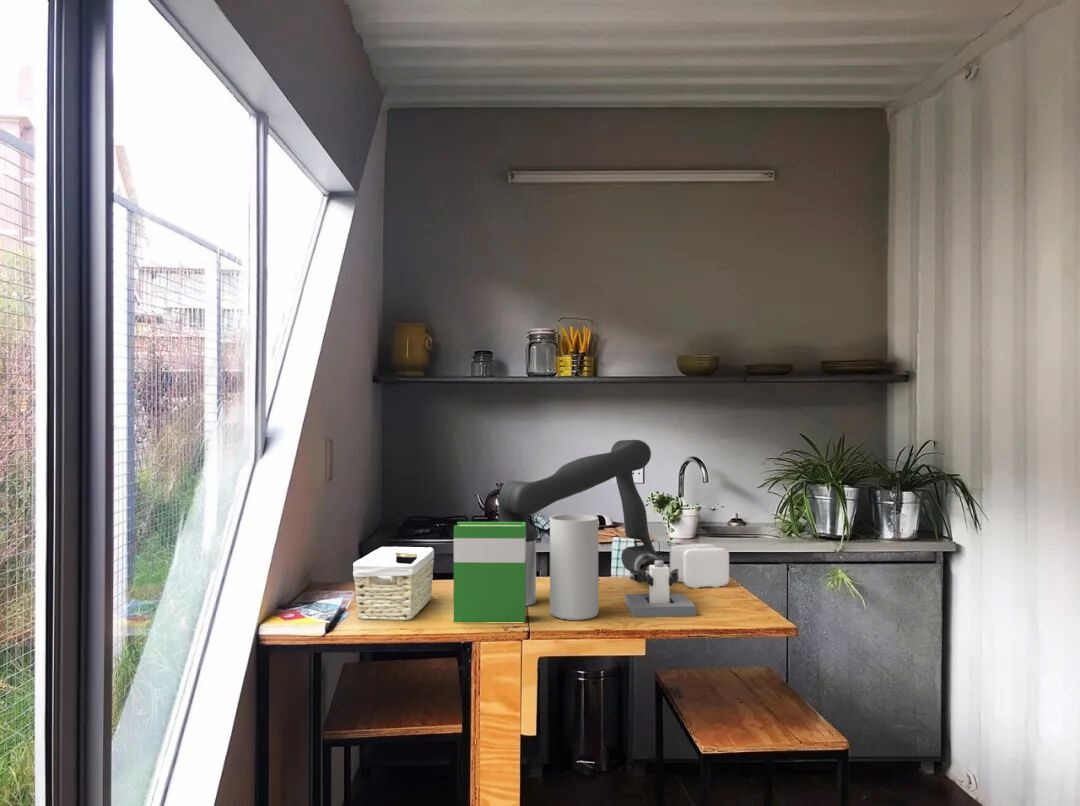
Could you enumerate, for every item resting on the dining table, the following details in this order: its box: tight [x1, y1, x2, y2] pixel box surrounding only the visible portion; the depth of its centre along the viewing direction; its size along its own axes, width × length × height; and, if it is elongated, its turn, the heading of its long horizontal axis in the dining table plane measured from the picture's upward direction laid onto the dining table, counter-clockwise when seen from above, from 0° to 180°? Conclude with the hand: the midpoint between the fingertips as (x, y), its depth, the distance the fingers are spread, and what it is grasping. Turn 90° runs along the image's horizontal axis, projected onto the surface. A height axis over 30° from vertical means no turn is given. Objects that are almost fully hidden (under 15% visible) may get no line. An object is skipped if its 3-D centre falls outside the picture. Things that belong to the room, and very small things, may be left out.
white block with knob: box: [648, 559, 670, 603], centre depth 202 cm, size 4×4×12 cm
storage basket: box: [352, 546, 435, 621], centre depth 202 cm, size 24×16×15 cm
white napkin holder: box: [669, 543, 730, 589], centre depth 232 cm, size 15×11×12 cm
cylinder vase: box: [549, 514, 599, 621], centre depth 197 cm, size 12×12×25 cm
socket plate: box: [624, 593, 697, 618], centre depth 202 cm, size 16×14×2 cm
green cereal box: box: [453, 521, 527, 623], centre depth 193 cm, size 18×7×24 cm, turn 88°
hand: (661, 581), depth 199 cm, fingers closed on white block with knob, 4 cm apart
